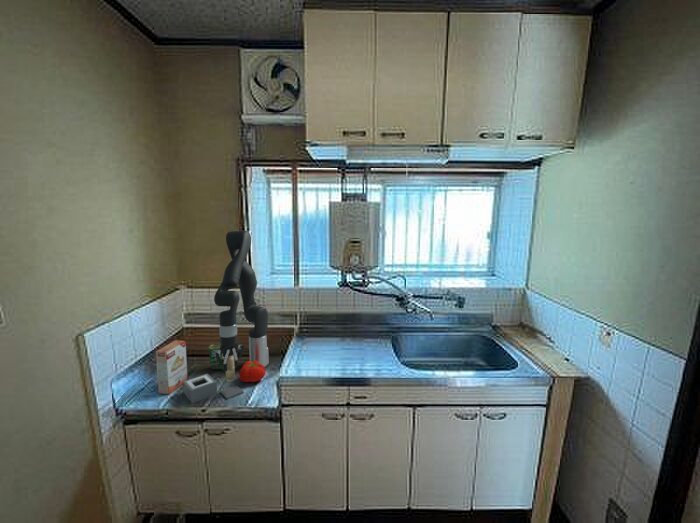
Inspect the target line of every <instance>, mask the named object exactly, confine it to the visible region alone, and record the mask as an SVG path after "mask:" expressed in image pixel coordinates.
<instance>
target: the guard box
mask: <svg viewBox="0 0 700 523" xmlns="http://www.w3.org/2000/svg"><path fill="white" fill-rule="evenodd" d="M182 385H183V386H182V387H183V394H184V395H185V396H186V397H187V399H188V400H189V401H190V403H191V404H194V403H197V402H199V401H202V400H205V399H208V398H210V397H214V396H216V395H218V388H217V381H216V380H215V379H214V378H213V377H212V376H211V375H210V374H208V373H204V374H202V375H201V374H200V375H198V376H195V377H193V378H189V379H188V380H186V381H183V384H182Z"/></svg>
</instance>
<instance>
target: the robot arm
mask: <svg viewBox="0 0 700 523" xmlns="http://www.w3.org/2000/svg"><path fill="white" fill-rule="evenodd" d="M250 233H251V232H249V231H248V230H234V231H233V230H232V231H228V232H227V233H226V235H225V241H226V246H227V249H228V252H229V255H230V258H231V260H230V262H229V263H228V264H227V266H226V267H225V271H224V274H223V276H222V277H223V279H222V282H221V283H220V285H219V287H218V289H217V290H216V292H215V294H214V298H213V301H214V304H215V305H216V306H217V307H229V309H227V310H223V311H220V312H219V345H220V349H219V350H218V351H214V355H215V357H216V359H217V362H218V363H220V364H222V369H221V370H223V371H224V372H226V371H227V364H226V361H227V359H228V356H229V355H234V365H235V369H237V367H238V363H239V362H238V359H242V357H243V356H242V355H243V353H244V352H243V351H244V350H245V349H244V348H245V345H243V343H240V344H239V343H238V326H237V325H238V324H237V312H238V306H239V303H240V297H241V300H242V307H243V314H244V317H245V320H246V321H247V322H249V323H252V324H253V328H251V329H249V330H248V350H249V361H251V362H252V361H258V362H259V363H261V364H262V365H263V366H264V368H265V367H266V366H267V365H269V364H270V362H269V361H270V360H269V359H270V356H269V353H270V352H269V347H268V345H267V344H268V343H267V331H268V325H269V324H268V323H269V322H268V321H269V314H268V310H267V308H266V307H262V306H258V305H257V304H256V301H255V292H256V290H257V286H258V283H257V282H258V280H257V276H256V272H255V269H253V267H252V266H251V264H249V263H248V262H247V260H246V259H247V256H248V253H249V251H250V248H251V245H252V236H251V234H250ZM235 288H238V289H239V292H240V294H239V292H238V291H237V290H233V289H235ZM236 351H237V352H236ZM220 352H222V353H223V354H222V360H221V358H220V356H219V355H220Z"/></svg>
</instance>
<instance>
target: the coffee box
mask: <svg viewBox="0 0 700 523" xmlns="http://www.w3.org/2000/svg"><path fill="white" fill-rule="evenodd" d="M219 349H220V344H210V345H209V346H208V354H209V366H210V370H223V369H222V364H220V363H218V362H217V359H216V357H215V355H214V351H218V350H219ZM222 354H223V353H222V352H220V355H219V356H220V358H221V360H222Z"/></svg>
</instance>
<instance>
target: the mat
mask: <svg viewBox="0 0 700 523" xmlns="http://www.w3.org/2000/svg"><path fill="white" fill-rule="evenodd" d="M219 393H220V394H221V396H223V397H224V398H225V399H226V400H230V399H232V398H235V397H237V396H241V395H242V394H244V393H245V391H244V390H243V389H242V388H241V387H239V385H238V384H235V385H231V386H230V387H227V388H224V389H222V390H219ZM229 398H230V399H229Z"/></svg>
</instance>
